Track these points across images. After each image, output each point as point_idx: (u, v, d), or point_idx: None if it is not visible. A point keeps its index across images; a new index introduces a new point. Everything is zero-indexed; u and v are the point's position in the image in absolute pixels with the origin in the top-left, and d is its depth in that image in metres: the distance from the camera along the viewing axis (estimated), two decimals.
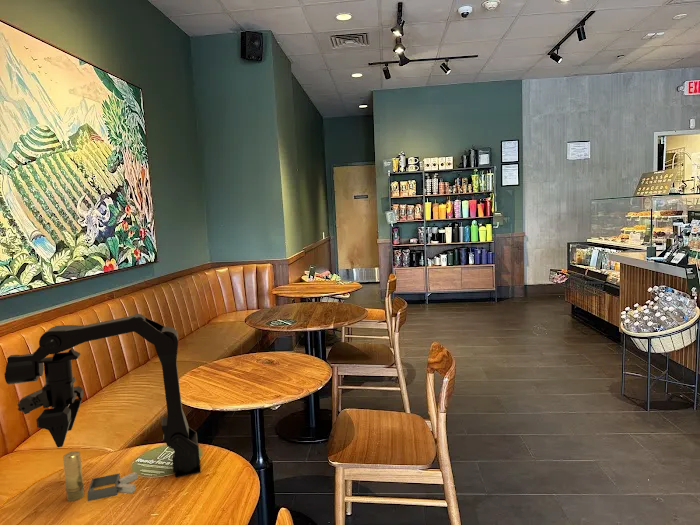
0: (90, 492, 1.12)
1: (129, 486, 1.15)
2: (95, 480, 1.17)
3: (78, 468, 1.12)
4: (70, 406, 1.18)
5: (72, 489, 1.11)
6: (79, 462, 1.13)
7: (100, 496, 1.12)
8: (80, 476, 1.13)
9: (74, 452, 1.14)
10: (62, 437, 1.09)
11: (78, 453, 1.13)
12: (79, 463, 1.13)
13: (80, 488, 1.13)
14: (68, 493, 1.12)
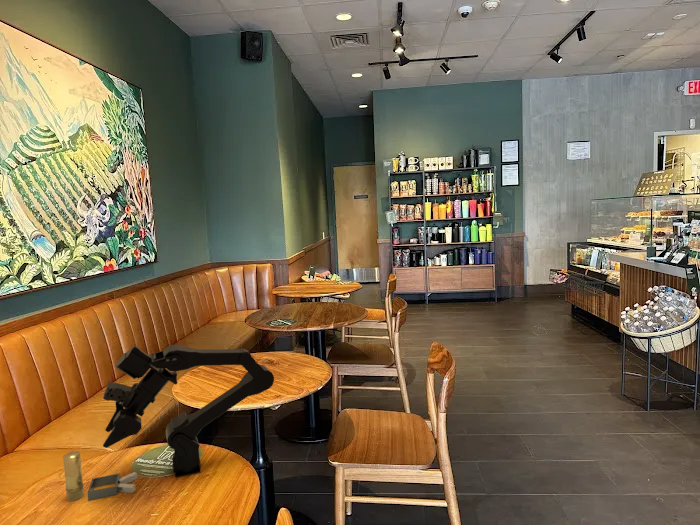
0: (90, 492, 1.12)
1: (129, 486, 1.15)
2: (95, 480, 1.17)
3: (78, 468, 1.12)
4: None
5: (72, 489, 1.11)
6: (79, 462, 1.13)
7: (100, 496, 1.12)
8: (80, 476, 1.13)
9: (74, 452, 1.13)
10: (114, 441, 1.11)
11: (78, 453, 1.13)
12: (79, 463, 1.13)
13: (80, 488, 1.13)
14: (68, 493, 1.12)
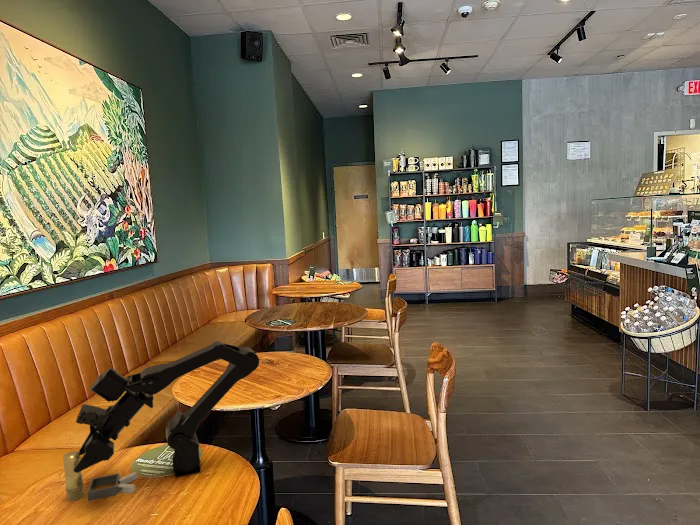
0: (90, 492, 1.12)
1: (129, 486, 1.15)
2: (95, 480, 1.17)
3: None
4: (99, 434, 1.19)
5: (72, 489, 1.11)
6: None
7: (100, 496, 1.12)
8: (80, 476, 1.13)
9: (74, 452, 1.14)
10: (86, 466, 1.09)
11: (78, 453, 1.13)
12: None
13: (80, 488, 1.13)
14: (68, 493, 1.12)
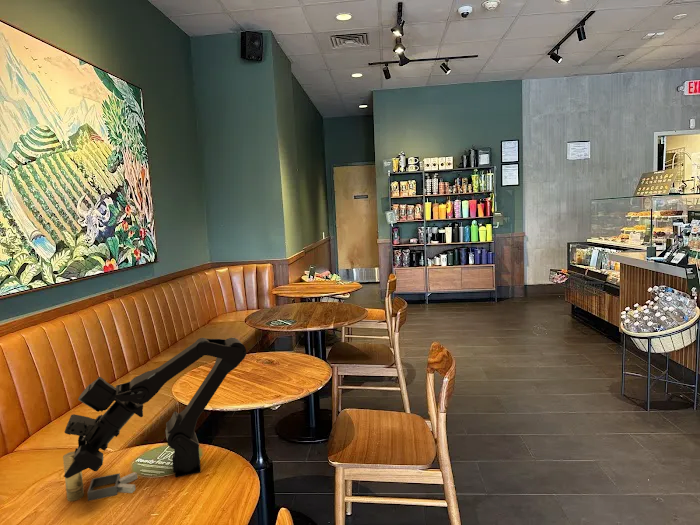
0: (90, 492, 1.12)
1: (129, 486, 1.15)
2: (95, 480, 1.17)
3: None
4: None
5: (72, 489, 1.11)
6: None
7: (100, 496, 1.12)
8: (80, 476, 1.13)
9: (74, 452, 1.13)
10: (76, 471, 1.11)
11: None
12: None
13: (80, 488, 1.13)
14: (68, 493, 1.12)
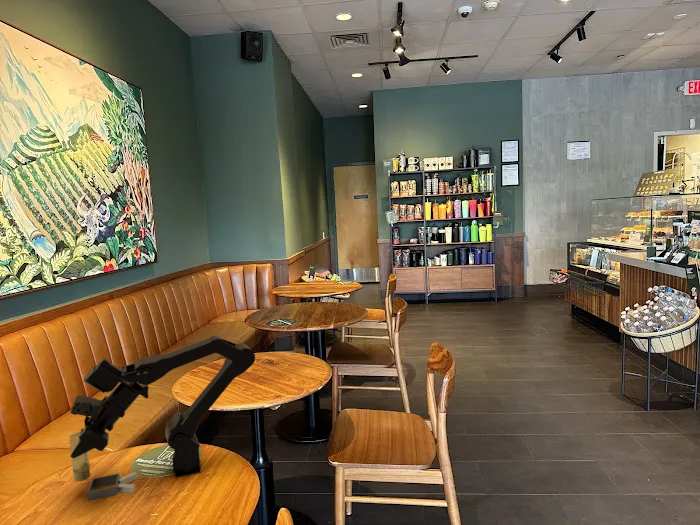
0: (90, 492, 1.12)
1: (129, 486, 1.15)
2: (95, 480, 1.17)
3: None
4: None
5: (78, 469, 1.12)
6: None
7: (100, 496, 1.12)
8: (86, 456, 1.13)
9: None
10: (82, 451, 1.11)
11: None
12: None
13: (86, 468, 1.13)
14: (75, 473, 1.12)
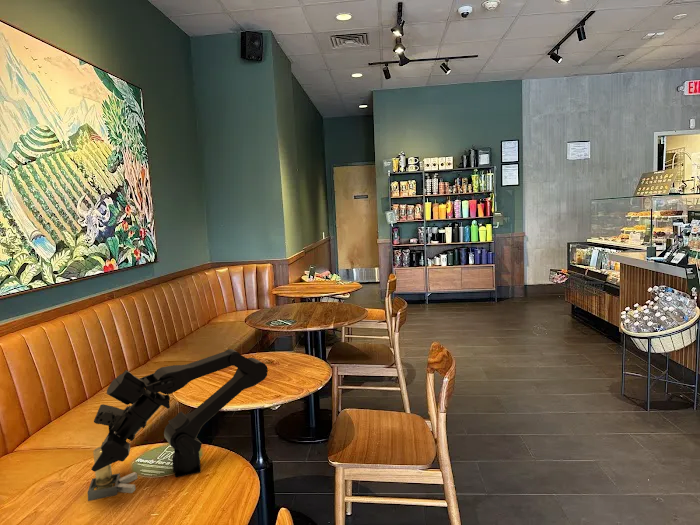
0: (90, 492, 1.12)
1: (129, 486, 1.15)
2: (95, 480, 1.17)
3: None
4: None
5: (101, 483, 1.14)
6: None
7: (100, 496, 1.12)
8: (109, 471, 1.15)
9: None
10: (103, 465, 1.10)
11: None
12: None
13: (109, 482, 1.15)
14: (98, 487, 1.14)
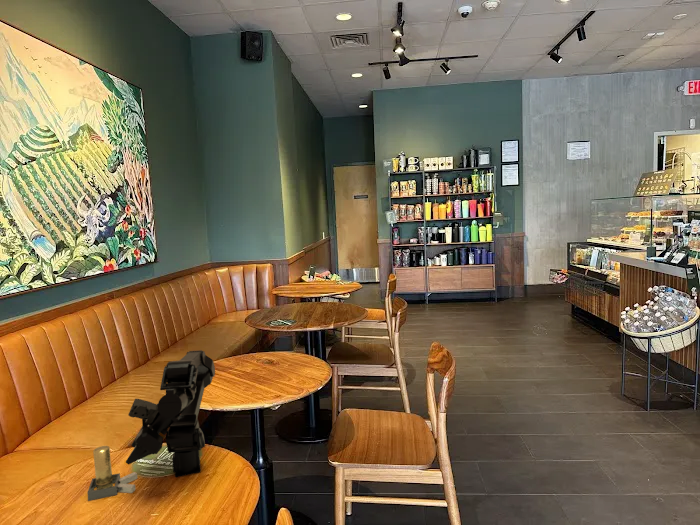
0: (90, 492, 1.12)
1: (129, 486, 1.15)
2: (95, 480, 1.17)
3: (107, 463, 1.14)
4: None
5: (101, 483, 1.14)
6: (108, 457, 1.15)
7: (100, 496, 1.12)
8: (109, 470, 1.15)
9: (104, 447, 1.16)
10: (136, 458, 1.13)
11: (107, 448, 1.15)
12: (108, 458, 1.15)
13: (109, 482, 1.15)
14: (98, 487, 1.14)
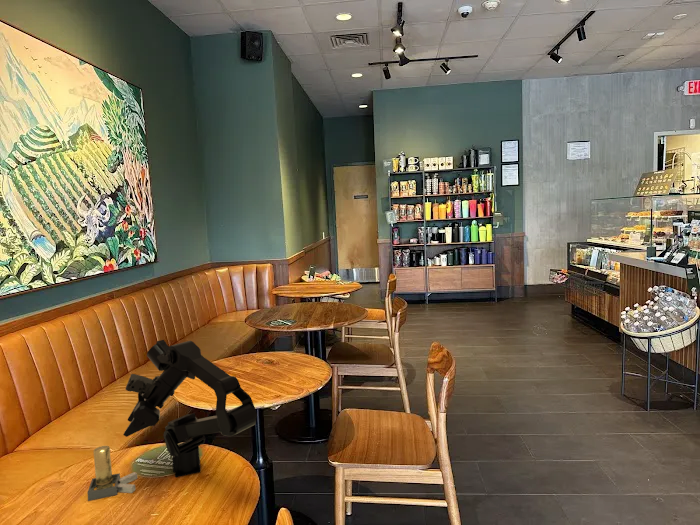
0: (90, 492, 1.12)
1: (129, 486, 1.15)
2: (95, 480, 1.17)
3: (107, 463, 1.14)
4: None
5: (102, 483, 1.14)
6: (108, 456, 1.15)
7: (100, 496, 1.12)
8: (109, 470, 1.15)
9: (104, 446, 1.16)
10: (134, 430, 1.16)
11: (108, 448, 1.15)
12: (108, 457, 1.15)
13: (109, 482, 1.15)
14: (98, 487, 1.14)
